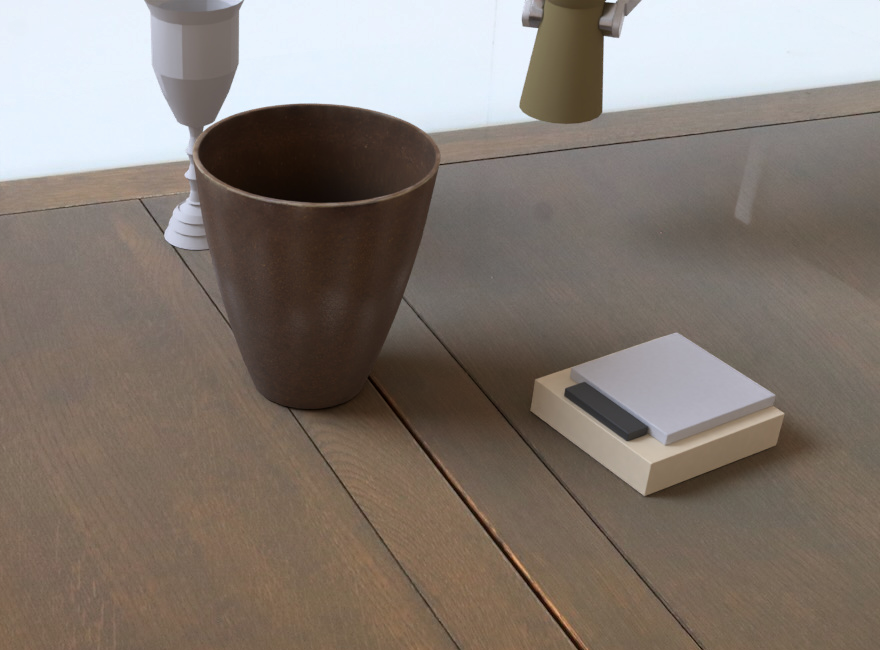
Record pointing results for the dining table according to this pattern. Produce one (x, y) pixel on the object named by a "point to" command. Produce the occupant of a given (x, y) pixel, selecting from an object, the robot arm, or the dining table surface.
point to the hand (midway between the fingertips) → (570, 28)
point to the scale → (659, 412)
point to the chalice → (193, 84)
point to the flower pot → (313, 239)
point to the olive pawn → (566, 64)
